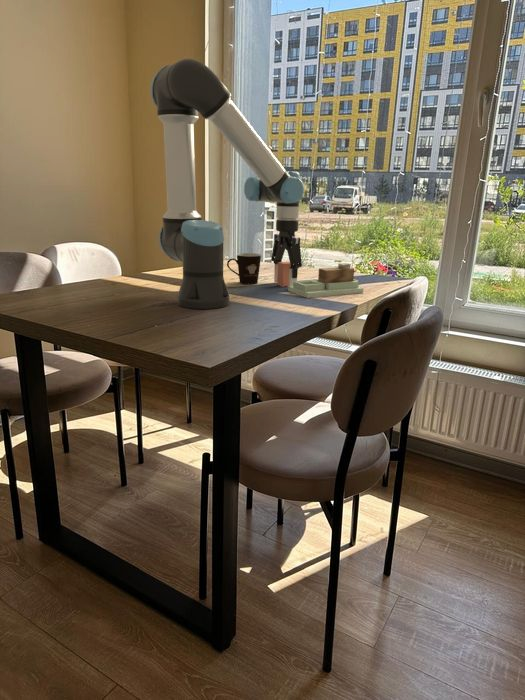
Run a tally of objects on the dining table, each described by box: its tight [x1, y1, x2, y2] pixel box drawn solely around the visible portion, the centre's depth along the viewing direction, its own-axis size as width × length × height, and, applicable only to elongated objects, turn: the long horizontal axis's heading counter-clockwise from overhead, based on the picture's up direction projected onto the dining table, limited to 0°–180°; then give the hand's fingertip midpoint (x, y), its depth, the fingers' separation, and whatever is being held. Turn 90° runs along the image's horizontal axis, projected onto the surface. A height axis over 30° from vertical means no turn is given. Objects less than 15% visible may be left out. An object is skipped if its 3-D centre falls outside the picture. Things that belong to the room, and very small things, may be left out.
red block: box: [276, 261, 291, 288], centre depth 180 cm, size 4×4×8 cm
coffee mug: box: [226, 252, 262, 285], centre depth 183 cm, size 12×9×10 cm
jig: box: [287, 278, 364, 299], centre depth 172 cm, size 22×12×4 cm, turn 118°
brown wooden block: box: [317, 262, 355, 289], centre depth 172 cm, size 11×4×8 cm, turn 114°
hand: (285, 284), depth 182 cm, fingers open, 10 cm apart
